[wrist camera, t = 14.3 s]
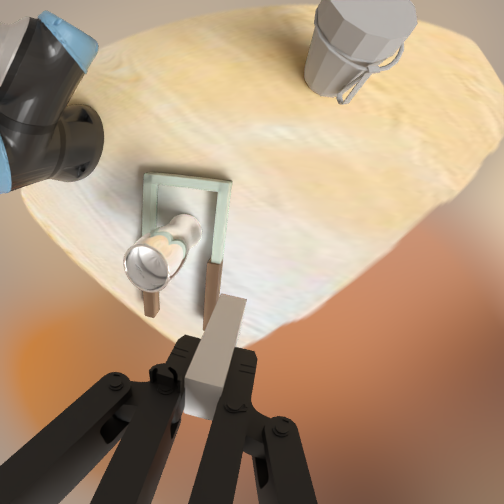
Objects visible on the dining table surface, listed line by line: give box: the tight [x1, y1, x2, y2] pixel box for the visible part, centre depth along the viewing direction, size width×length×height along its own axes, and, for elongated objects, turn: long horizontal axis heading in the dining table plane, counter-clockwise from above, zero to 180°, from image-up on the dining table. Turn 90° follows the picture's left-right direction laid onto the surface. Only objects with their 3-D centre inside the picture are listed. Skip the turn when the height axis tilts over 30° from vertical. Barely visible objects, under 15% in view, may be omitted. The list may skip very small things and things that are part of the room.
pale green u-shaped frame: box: [142, 172, 232, 264], centre depth 43 cm, size 14×13×2 cm
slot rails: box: [143, 256, 223, 331], centre depth 48 cm, size 14×14×3 cm
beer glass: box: [123, 214, 202, 293], centre depth 38 cm, size 7×7×15 cm
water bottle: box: [304, 0, 418, 104], centre depth 22 cm, size 9×8×25 cm
